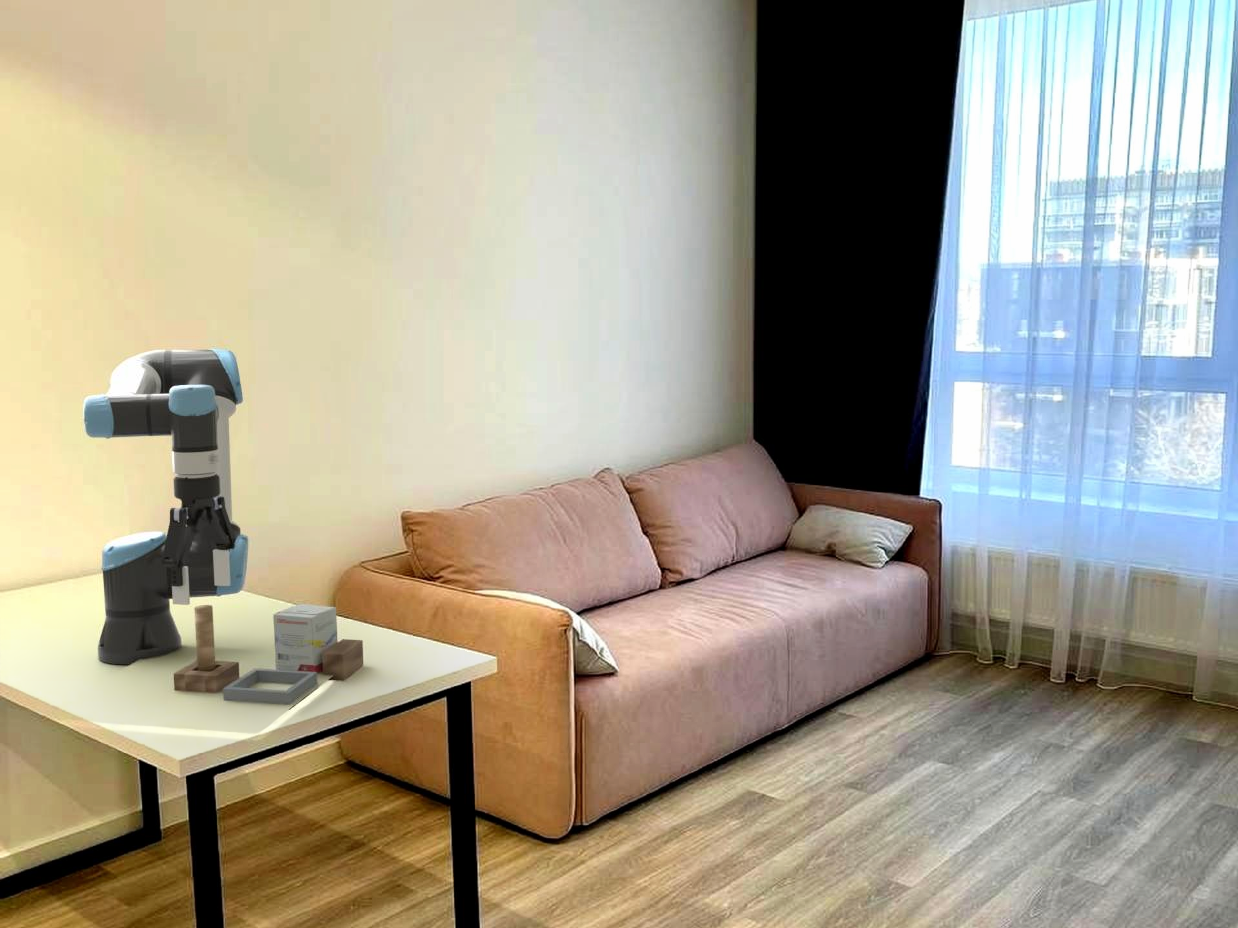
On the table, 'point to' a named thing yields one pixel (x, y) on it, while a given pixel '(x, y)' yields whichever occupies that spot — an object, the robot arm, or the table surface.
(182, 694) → the table surface
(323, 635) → the ink box
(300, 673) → the tray
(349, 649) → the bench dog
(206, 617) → the dowel
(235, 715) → the table surface
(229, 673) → the socket block
